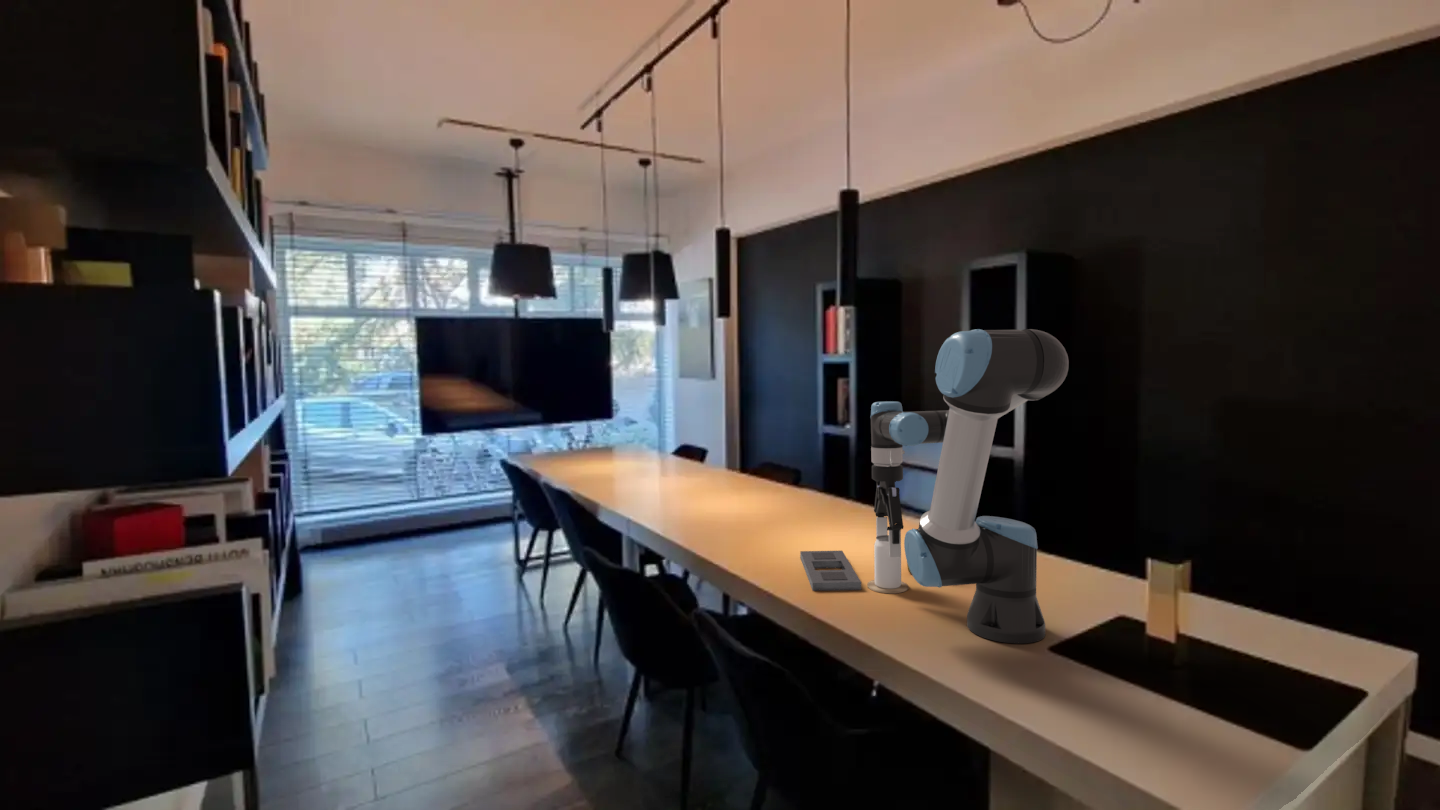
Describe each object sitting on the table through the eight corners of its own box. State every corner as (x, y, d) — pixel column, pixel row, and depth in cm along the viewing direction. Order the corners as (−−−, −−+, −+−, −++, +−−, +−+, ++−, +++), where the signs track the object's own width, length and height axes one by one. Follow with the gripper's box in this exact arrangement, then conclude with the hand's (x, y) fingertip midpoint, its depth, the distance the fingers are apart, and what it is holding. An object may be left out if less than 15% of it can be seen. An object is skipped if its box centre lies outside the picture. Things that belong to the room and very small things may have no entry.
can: (871, 587, 171) (871, 539, 170) (878, 579, 177) (878, 533, 176) (897, 591, 168) (897, 542, 167) (903, 583, 174) (903, 536, 173)
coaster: (913, 593, 167) (913, 591, 167) (871, 594, 168) (871, 592, 167) (902, 580, 177) (902, 578, 177) (863, 580, 177) (863, 579, 177)
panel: (861, 590, 171) (861, 581, 170) (812, 590, 171) (812, 582, 171) (842, 557, 198) (842, 550, 198) (800, 558, 199) (800, 550, 198)
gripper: (916, 471, 158) (917, 562, 159) (890, 457, 183) (891, 536, 184) (883, 471, 158) (884, 563, 159) (862, 458, 183) (863, 537, 184)
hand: (888, 549), depth 171 cm, fingers open, 13 cm apart
